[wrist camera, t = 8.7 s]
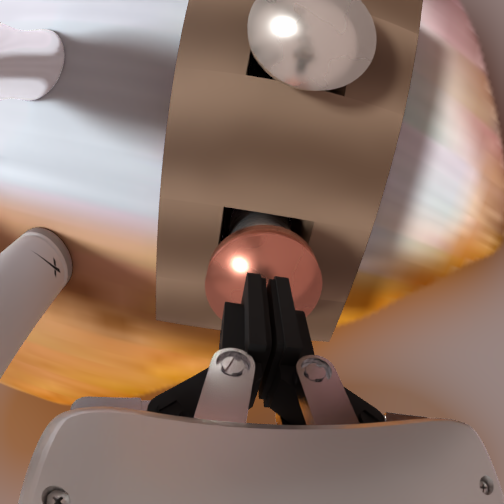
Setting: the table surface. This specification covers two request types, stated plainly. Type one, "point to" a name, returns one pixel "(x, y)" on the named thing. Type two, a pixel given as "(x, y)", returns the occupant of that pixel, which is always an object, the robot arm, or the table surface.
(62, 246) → the travel mug
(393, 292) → the table surface
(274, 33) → the plug cream
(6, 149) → the table surface
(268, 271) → the plug terracotta
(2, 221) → the table surface
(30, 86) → the beer glass
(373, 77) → the socket board
